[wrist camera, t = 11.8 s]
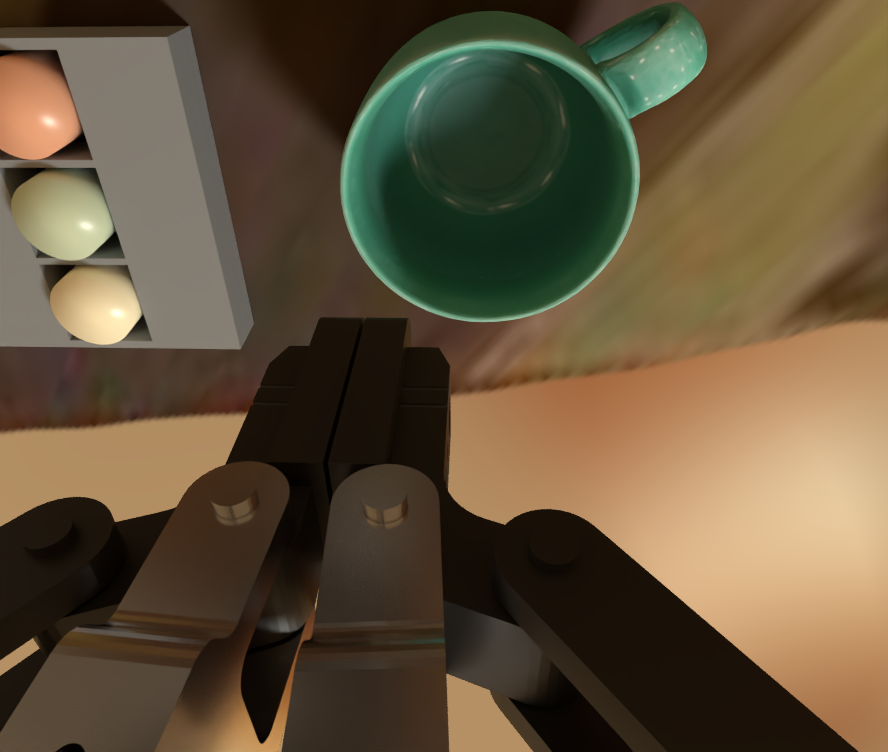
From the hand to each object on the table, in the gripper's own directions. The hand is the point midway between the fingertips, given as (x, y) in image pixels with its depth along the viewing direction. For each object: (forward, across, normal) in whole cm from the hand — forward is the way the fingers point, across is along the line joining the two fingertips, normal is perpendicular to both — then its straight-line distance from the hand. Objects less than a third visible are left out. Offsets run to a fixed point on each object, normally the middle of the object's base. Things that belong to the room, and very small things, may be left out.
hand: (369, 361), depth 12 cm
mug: (+27, -4, +3) cm, 28 cm away
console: (+27, +20, +8) cm, 35 cm away
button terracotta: (+27, +20, +2) cm, 34 cm away
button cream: (+27, +21, +13) cm, 36 cm away
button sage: (+27, +20, +8) cm, 34 cm away
